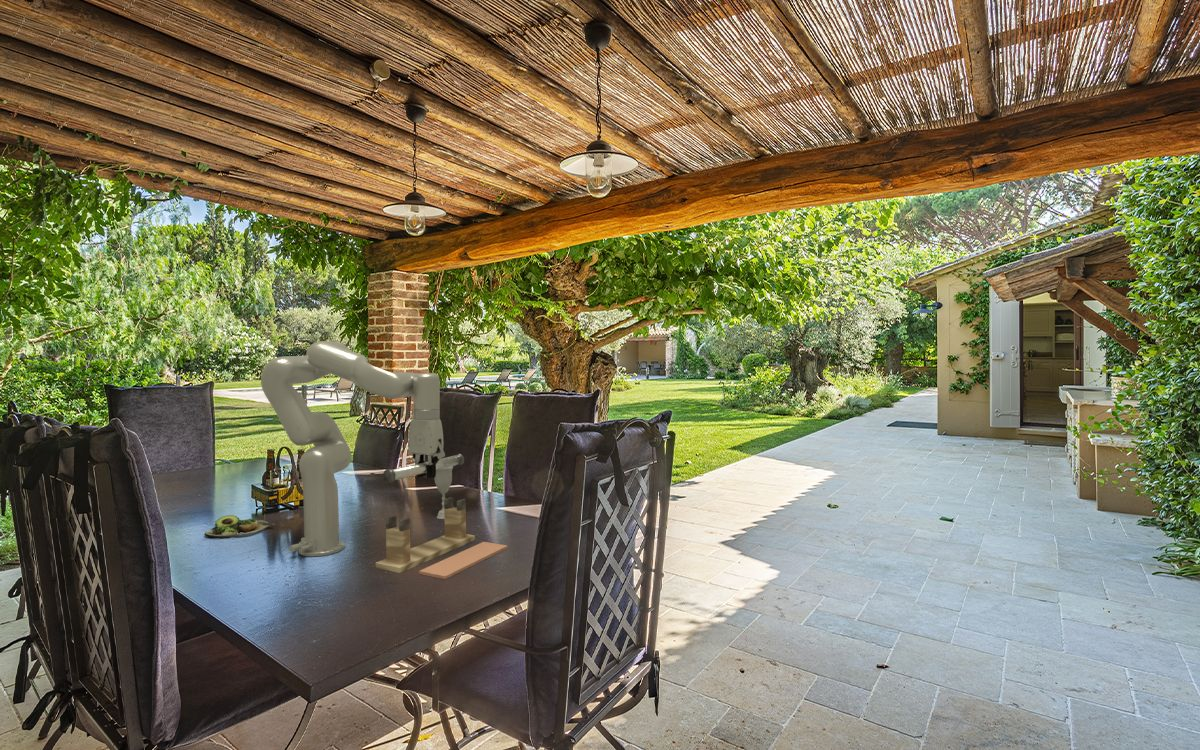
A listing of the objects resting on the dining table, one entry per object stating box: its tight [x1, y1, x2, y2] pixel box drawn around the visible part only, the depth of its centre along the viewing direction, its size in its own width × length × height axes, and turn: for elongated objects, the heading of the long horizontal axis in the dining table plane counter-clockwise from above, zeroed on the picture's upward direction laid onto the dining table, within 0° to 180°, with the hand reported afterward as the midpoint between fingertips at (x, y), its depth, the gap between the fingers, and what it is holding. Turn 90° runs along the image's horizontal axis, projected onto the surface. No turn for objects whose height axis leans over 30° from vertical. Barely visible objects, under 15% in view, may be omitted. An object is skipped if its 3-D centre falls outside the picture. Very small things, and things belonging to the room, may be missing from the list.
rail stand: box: [375, 496, 476, 574], centre depth 179 cm, size 32×9×14 cm, turn 153°
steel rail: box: [382, 453, 465, 484], centre depth 178 cm, size 30×4×4 cm, turn 153°
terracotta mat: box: [418, 541, 509, 580], centre depth 173 cm, size 28×9×1 cm, turn 153°
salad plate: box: [204, 514, 276, 539], centre depth 203 cm, size 19×18×5 cm
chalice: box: [434, 466, 454, 520], centre depth 218 cm, size 7×7×18 cm
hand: (426, 476), depth 178 cm, fingers closed on steel rail, 3 cm apart
